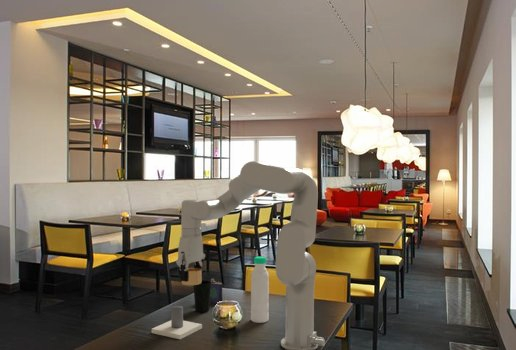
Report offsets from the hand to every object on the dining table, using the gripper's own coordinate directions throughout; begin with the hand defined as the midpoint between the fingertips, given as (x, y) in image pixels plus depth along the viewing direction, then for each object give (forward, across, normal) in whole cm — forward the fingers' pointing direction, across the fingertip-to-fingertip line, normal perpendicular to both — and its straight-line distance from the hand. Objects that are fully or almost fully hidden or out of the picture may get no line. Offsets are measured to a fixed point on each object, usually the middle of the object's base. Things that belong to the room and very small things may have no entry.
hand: (191, 278), depth 174 cm
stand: (+18, +7, -1) cm, 19 cm away
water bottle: (+18, -19, +19) cm, 32 cm away
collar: (+2, 0, 0) cm, 2 cm away
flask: (+18, -29, -11) cm, 36 cm away
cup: (+18, -17, -8) cm, 26 cm away
